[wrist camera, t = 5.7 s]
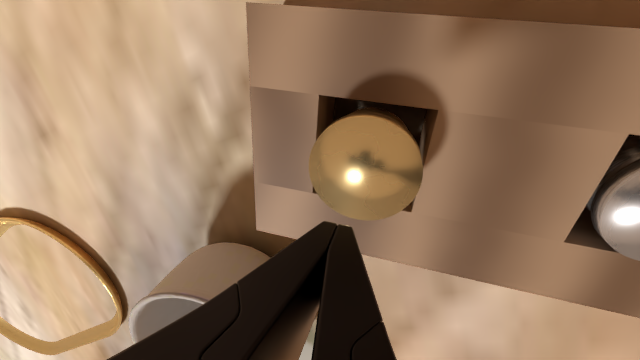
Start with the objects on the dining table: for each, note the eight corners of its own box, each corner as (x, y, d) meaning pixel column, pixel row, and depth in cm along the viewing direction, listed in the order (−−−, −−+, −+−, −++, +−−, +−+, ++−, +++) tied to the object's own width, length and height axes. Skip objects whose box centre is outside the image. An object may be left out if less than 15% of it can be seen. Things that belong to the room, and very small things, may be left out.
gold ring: (158, 312, 34) (147, 323, 32) (45, 352, 49) (35, 362, 48) (30, 184, 29) (12, 192, 28) (-51, 274, 45) (-65, 282, 43)
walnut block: (875, 49, 11) (1090, 58, 8) (670, 277, 17) (740, 341, 13) (281, 8, 16) (246, 2, 12) (280, 197, 21) (256, 229, 18)
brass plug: (429, 105, 14) (436, 126, 11) (407, 193, 16) (408, 230, 13) (330, 93, 14) (311, 109, 12) (323, 177, 17) (305, 208, 14)
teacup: (178, 232, 26) (96, 305, 19) (281, 213, 22) (225, 296, 15) (244, 337, 31) (198, 425, 24) (338, 338, 27) (316, 443, 20)
